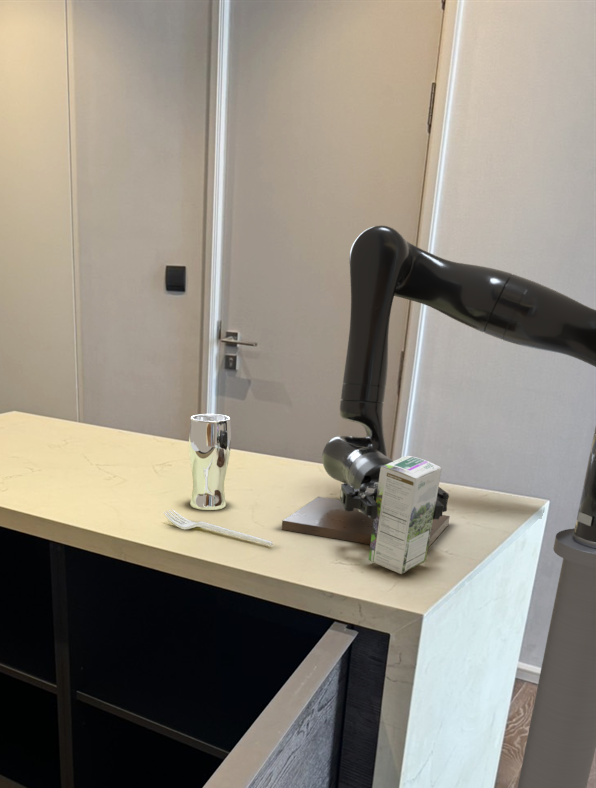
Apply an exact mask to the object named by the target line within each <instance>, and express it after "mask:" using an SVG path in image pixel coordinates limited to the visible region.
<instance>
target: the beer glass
mask: <svg viewBox="0 0 596 788" xmlns="http://www.w3.org/2000/svg"><path fill="white" fill-rule="evenodd" d="M231 419H232V418H231V417H230V416H228V415H224V414H220V413H219V414H218V413H216V414H215V413H202V414H201V413H200V414H195V415H192V416H191V417H190V425H189V435H188V454H189V462H190V468H191V477H192V492H191V497H190V502H189V504H190V507H191V508H192V509H195V510H200V511H218V510H222V509H224V508H225V507H226V506H227V503H226V494H225V480H226V475H227V470H228V465H229V461H230V456H231V455H230V454H231V448H232V447H231V446H232V428H231Z"/></svg>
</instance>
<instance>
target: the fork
mask: <svg viewBox="0 0 596 788" xmlns="http://www.w3.org/2000/svg"><path fill="white" fill-rule="evenodd" d="M162 513H163V514H164V516H165V517H166V519H168V521H170V522H171V524H173V525H174V526H175V527H177V528H178V529H181V530H191V529H193V528H201V529H206V530H210V531H212V532H213V531H214V532H217V533H221V534H224V535H228V536H231V537H236V538H240V539H243V540H247V541H250V542H255V543H258V544H262V545H265V546H269V547H272V546H274V543H273V541H271V540H268V539H266V538H265V539H264V538H261V537H258V536H255V535H251V534H248V533H243V532H239V531H237V530H233V529H231V528H226V527H223V526H220V525H217V524H216V525H215V524H212V523H208V522H206V521H201V520H200V521H197V522H195V521H193V520H190V519H188V518H186V517H184V516H183V515H181V514H180V513H179V512H177V511H176V510H175V509H174V508H171V510H170V509H168V510H165V511H162Z"/></svg>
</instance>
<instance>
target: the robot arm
mask: <svg viewBox="0 0 596 788" xmlns="http://www.w3.org/2000/svg"><path fill="white" fill-rule="evenodd" d="M348 260H349V262H348V263H349V277H350V319H349V333H348V341H347V349H346V357H345V363H344V371H343V378H342V386H341V392H340V393H341V394H340V403H339V415H340V417H341V418H342V419H343V420H345V421H349V422H352V423H355V424H358V425H361V426H362V427H363V428H364V431H365V436H355V435H343V434H342V435H341V434H340V435H336V436H333V437H331V438H330V439H328V441H327V442H326V444H325V445H324V447H323V449H322V456H321V461H322V465H323V468H324V470H325V472H326V473H327V475H328V476H329V477H330V478H332V479H333V480H336V481H338V482H340V483H341V485H340V496H339V500H340V502H341V504H342V505H343V507H344V509H345V510H346V511H353V510H354V508H357V509H359V512H361V513H363V514H364V515H366V516H368V517H369V518H370V519H376V515H377V503H376V498H377V491H378V483H379V476H380V468H381V467H382V466H384V465H386V464H388V463H391V462H393V461H394V460H393V459H392V458H390V457H388V450H387V444H386V439H385V431H384V430H385V429H384V402H385V397H386V396H385V395H386V389H387V381H388V380H387V379H388V371H389V370H388V369H389V332H390V320H391V313H392V308H393V301H394V297H398V298H401V299H404V300H408V301H412V302H416V303H419V304H422V305H425V306H428V307H430V308H432V309H434V310H436V311H438V312H440V313H442V314H443V315H445V316H447V317H449V318H451V319H452V320H455V321H457V322H459V323H461V324H463V325H465V326H467V327H468V328H472V329H474V330H476V331H478V332H481V333H484V334H486V335H489V336H491V337H493V338H496V339H499V340H501V341H505V342H507V343H511V344H514V345H518V346H521V347H526V348H530V349H534V350H539V351H545V352H550V353H557V354H561V355H565V356H568V357H571V358H575V359H577V360H580V361H582V362H584V363H585V364H588V365H590V366H593V367H595V368H596V309H594V308H591V307H589V306H587V305H585V304H583V303H582V302H579V301H578V300H576V299H573V298H572V297H570V296H568V295H565V294H563V293H561V292H559V291H557V290H554V289H553V288H551V287H548V286H546V285H543V284H541V283H539V282H536V281H534V280H532V279H528V278H526V277H522V276H520V275H517V274H513V273H511V272H507V271H504V270H500V269H496V268H492V267H488V266H482V265H478V264H477V265H476V264H469V263H463V262H457V261H452V260H449V259H446V258H443V257H439V256H437V255H435V254H433V253H431V252H428V251H426V250H424V249H422V248H420V247H418V246H416V245H414V244H413V243H411V242H409V241H407V240H406V238H405V237H404V236H403V235H402V234H401V233H400V231H398V230H397V229H395V228H394V227H391V226H388V225H375V226H372V227H369V228H367V229H365V230H364V231H362V232H361V233H360V234H359V235H358V237H357V238H356V239H355V240H354V242H353V243H352V245H351V248H350V252H349V258H348ZM589 452H590V453H589V457H588V462H587V467H586V472H585V477H584V481H583V487H582V492H581V496H580V502H579V506H578V510H577V511H578V512H577V517H576V522H575V526H574V528H575V530H574V532H573V537H572V538H573V540H574V541H575V542H577V543H579V544H581V545H584V546H587V547H590V548H594V549H596V426H595V427H594V433H593V437H592V442H591V447H590V451H589ZM449 497H450V494H449V492H447V491H445V490H444V489H442V488H441V487H440V486H439V487H438V493H437V499H436V505H435V511H434V517H433V519H439V518H440V516H442V515H443V513H445V512H447V510H448V500H449Z"/></svg>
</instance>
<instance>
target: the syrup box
mask: <svg viewBox="0 0 596 788" xmlns="http://www.w3.org/2000/svg"><path fill="white" fill-rule="evenodd" d="M442 469H443V468H442V467H441V466H439V465H437V464H435V463H433V462H431V461H429V460H426V459H423V458H420V457H416V456H411V455H405V456H401V457H400V458H397V459H395V460H393V462H391V463H388V464H386V465H384V466H382V467H381V468H380V476H379V483H378V491H377V498H376V503H377V515H376V519H374V521H373V529H372V536H371V544H369V551H368V552H369V553H368V561H369V562H371V563H373V564H375V565H378V566H380V567H383V568H386V569H387V570H390V571H393V572H395V573H397V574H399V575H403V574H405V573H407V572H409V571H410V570H412V569H414V568H416V567H418V566H419V565H422V564H423V563H425V562H426V561H427V558H428V557H427V556H428V551H429V547H430V546H429V540H430V534H431V528H432V522H433V517H434V511H435V505H436V499H437V493H438V487H440V480H441V475H442ZM428 546H429V547H428Z"/></svg>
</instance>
